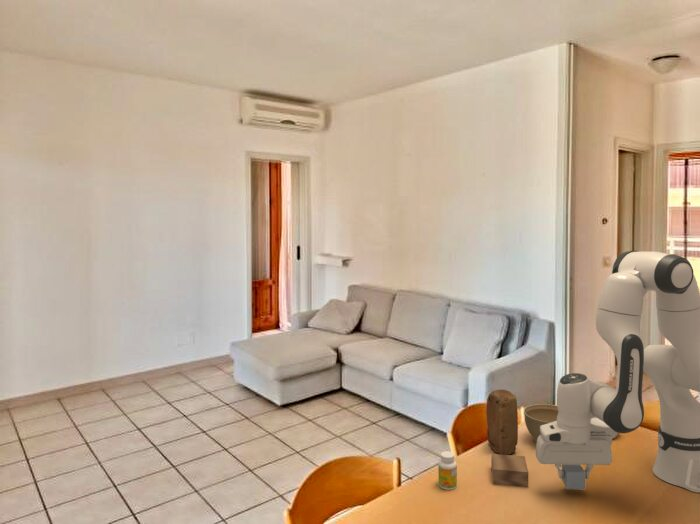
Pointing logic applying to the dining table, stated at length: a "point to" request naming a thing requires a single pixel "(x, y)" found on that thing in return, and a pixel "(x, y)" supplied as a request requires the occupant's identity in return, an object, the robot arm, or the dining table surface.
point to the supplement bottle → (447, 471)
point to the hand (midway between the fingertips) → (573, 477)
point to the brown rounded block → (502, 421)
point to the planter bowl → (539, 417)
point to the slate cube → (573, 476)
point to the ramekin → (601, 427)
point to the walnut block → (509, 470)
